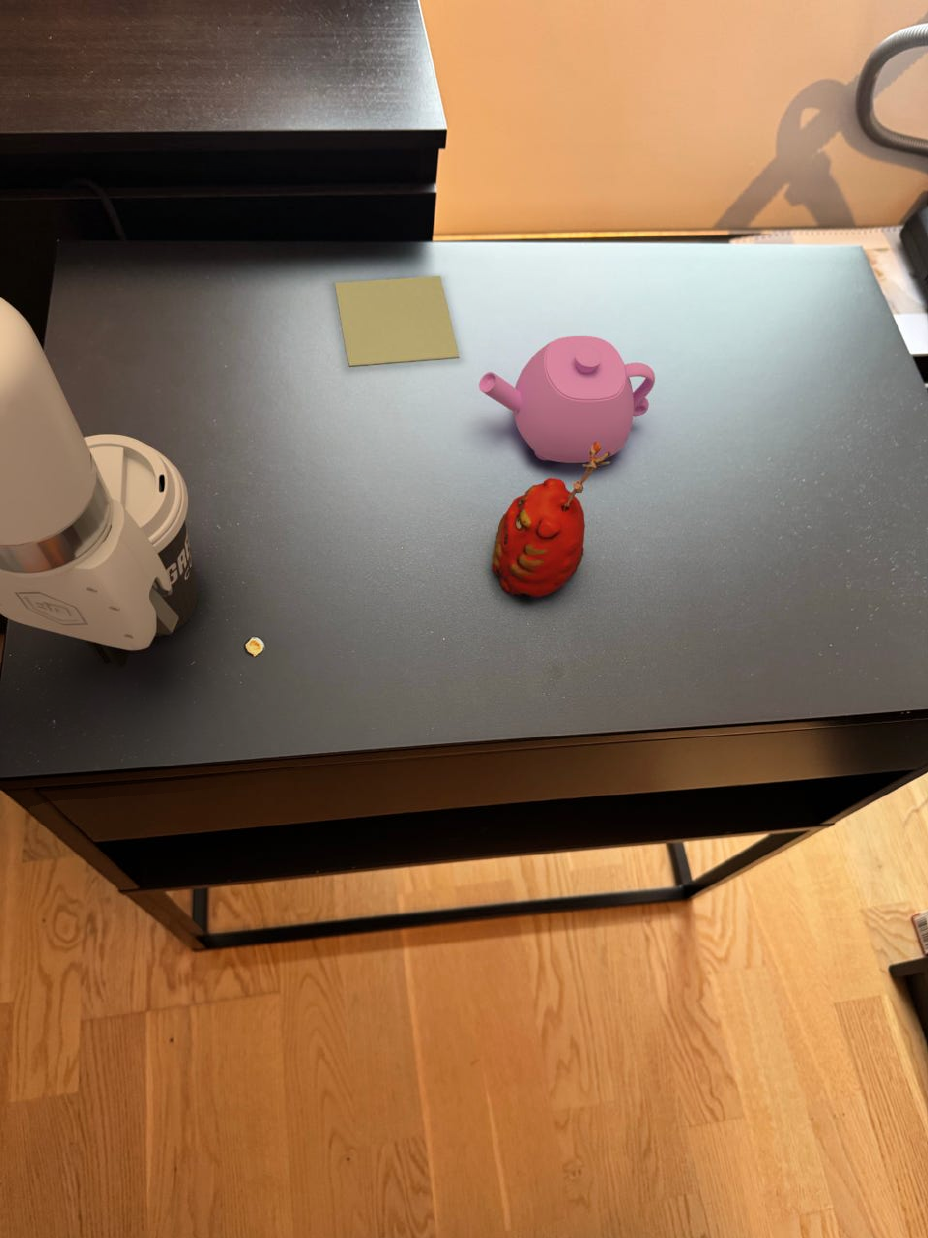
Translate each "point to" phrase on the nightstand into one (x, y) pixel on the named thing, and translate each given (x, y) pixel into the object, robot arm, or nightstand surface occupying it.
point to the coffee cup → (152, 509)
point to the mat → (395, 321)
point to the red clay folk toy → (542, 536)
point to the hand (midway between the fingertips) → (120, 646)
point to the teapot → (574, 398)
